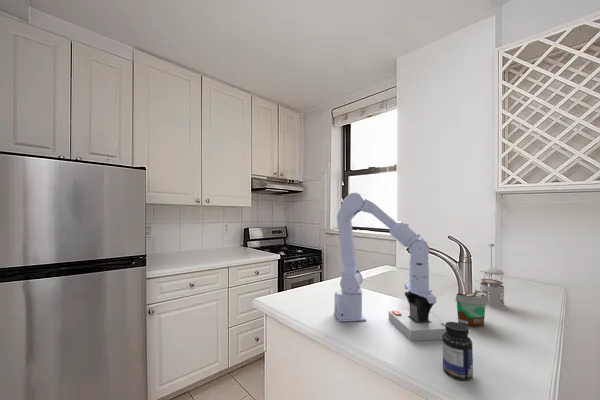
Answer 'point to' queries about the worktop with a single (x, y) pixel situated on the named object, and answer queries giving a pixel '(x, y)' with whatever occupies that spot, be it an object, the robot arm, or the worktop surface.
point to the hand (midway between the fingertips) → (419, 317)
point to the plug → (415, 314)
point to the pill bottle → (457, 351)
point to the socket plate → (417, 326)
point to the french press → (493, 287)
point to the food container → (471, 308)
